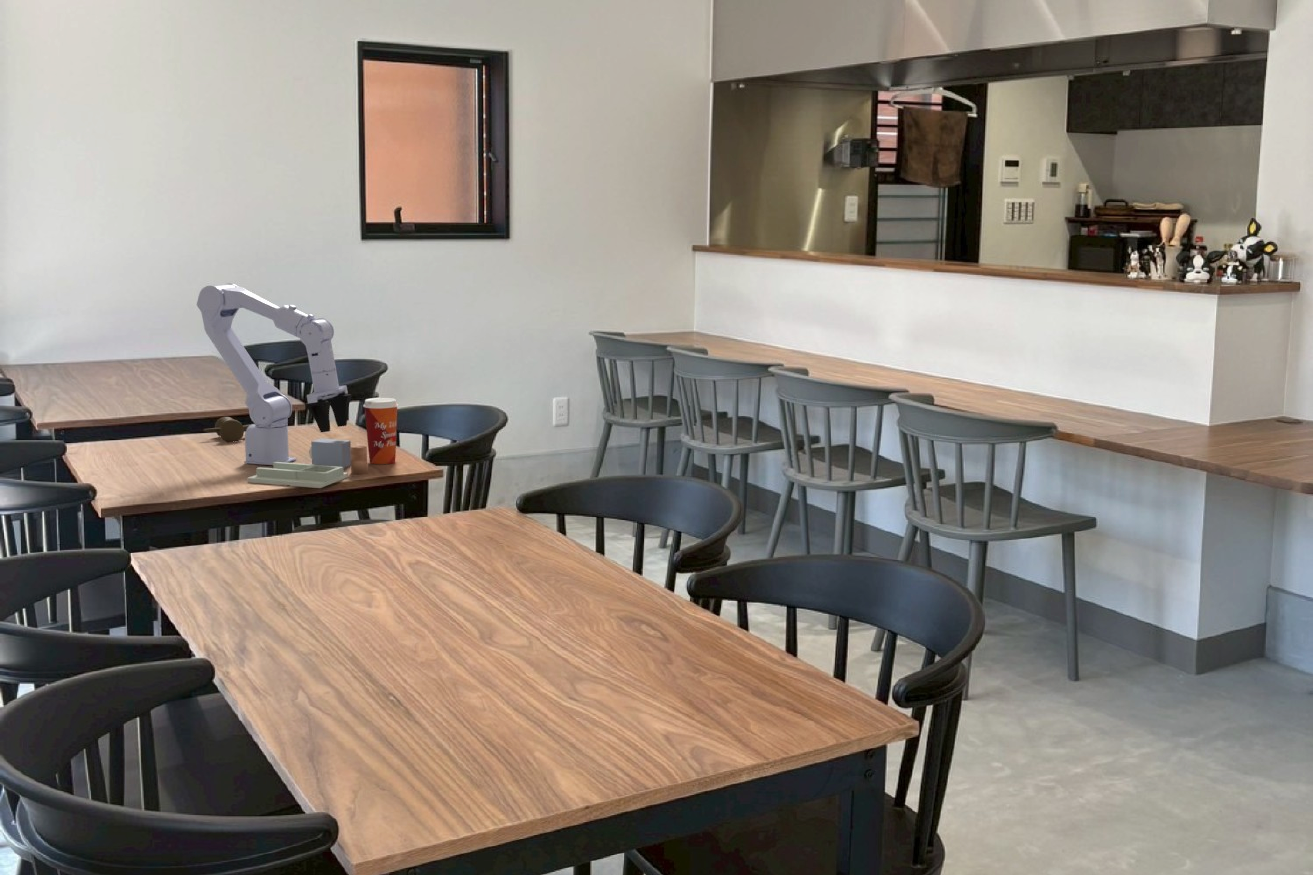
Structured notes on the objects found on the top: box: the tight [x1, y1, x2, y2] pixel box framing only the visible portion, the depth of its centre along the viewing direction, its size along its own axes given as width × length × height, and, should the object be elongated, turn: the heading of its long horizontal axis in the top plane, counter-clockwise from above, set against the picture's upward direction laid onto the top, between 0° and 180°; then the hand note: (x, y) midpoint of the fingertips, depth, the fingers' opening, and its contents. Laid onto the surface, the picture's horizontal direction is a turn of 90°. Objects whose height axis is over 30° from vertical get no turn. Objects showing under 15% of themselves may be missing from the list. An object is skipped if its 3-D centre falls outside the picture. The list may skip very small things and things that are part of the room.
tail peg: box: [350, 445, 368, 475], centre depth 293 cm, size 4×4×6 cm
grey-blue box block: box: [308, 438, 352, 469], centre depth 300 cm, size 9×4×6 cm, turn 74°
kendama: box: [202, 416, 254, 443], centre depth 334 cm, size 6×10×20 cm
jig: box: [246, 462, 349, 489], centre depth 285 cm, size 18×12×3 cm, turn 74°
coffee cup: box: [362, 397, 399, 465], centre depth 304 cm, size 8×8×15 cm
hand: (333, 428), depth 299 cm, fingers open, 7 cm apart
